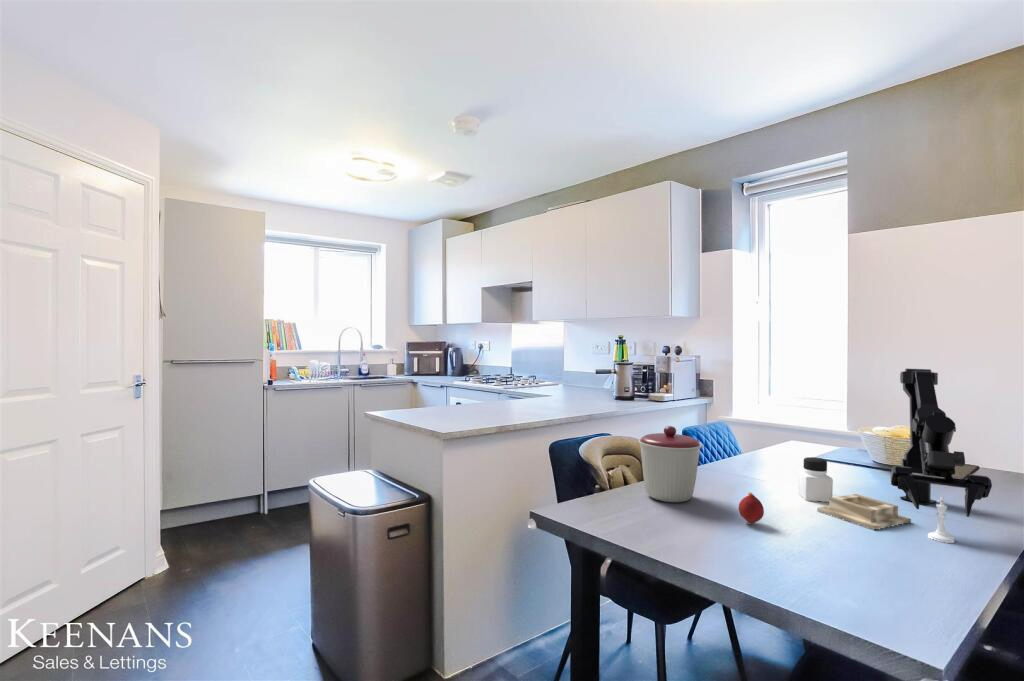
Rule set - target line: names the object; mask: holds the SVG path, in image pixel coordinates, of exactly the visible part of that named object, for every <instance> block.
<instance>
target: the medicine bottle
mask: <svg viewBox="0 0 1024 681" xmlns="http://www.w3.org/2000/svg"><path fill="white" fill-rule="evenodd" d="M797 473H798V474H797V494H798V495H799V496H800V497H801V498H802V497H803V498H802V499H803V500H804V501H807V502H817V501H821V502H822V503H829V498H833V485H834V484H833V481H834V480H833V478H832V477H830V476H829V475H828V461H827V460H826V459H825V458H822V457H817V456H807V457H805V458H803V470H798V472H797Z"/></svg>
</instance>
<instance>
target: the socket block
mask: <svg viewBox="0 0 1024 681" xmlns="http://www.w3.org/2000/svg"><path fill="white" fill-rule="evenodd" d="M828 503H829V504H828V505H826V506H819V507H817V508H816V509H817V511H816V512H818V511H820V512H819V513H821V512H823V513H822V514H824V513H826V514H825V515H827V514H829V515H828V516H830V515H832V516H831V517H833V516H835V517H834V518H836V517H838V518H837V519H839V518H841V519H840V520H842V519H844V520H843V521H845V520H847V521H846V522H848V521H850V522H849V523H851V522H853V523H852V524H854V523H856V524H855V525H857V524H859V525H858V526H860V525H862V526H861V527H863V526H865V527H864V528H866V527H868V528H867V529H869V528H871V529H870V530H872V529H878V530H880V529H879V528H883V527H888V526H892V525H897V526H899V525H898V524H902V523H907V522H911V523H912V518H910V517H906V516H903V515H899V505H896V504H893V503H889V502H886V501H883V500H879V499H875V498H872V497H869V496H865V495H861V494H858V493H854V494H846V495H840V496H832V498H829V502H828ZM907 524H908V523H907ZM902 525H903V524H902ZM892 527H893V526H892ZM888 528H889V527H888ZM883 529H884V528H883Z"/></svg>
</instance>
